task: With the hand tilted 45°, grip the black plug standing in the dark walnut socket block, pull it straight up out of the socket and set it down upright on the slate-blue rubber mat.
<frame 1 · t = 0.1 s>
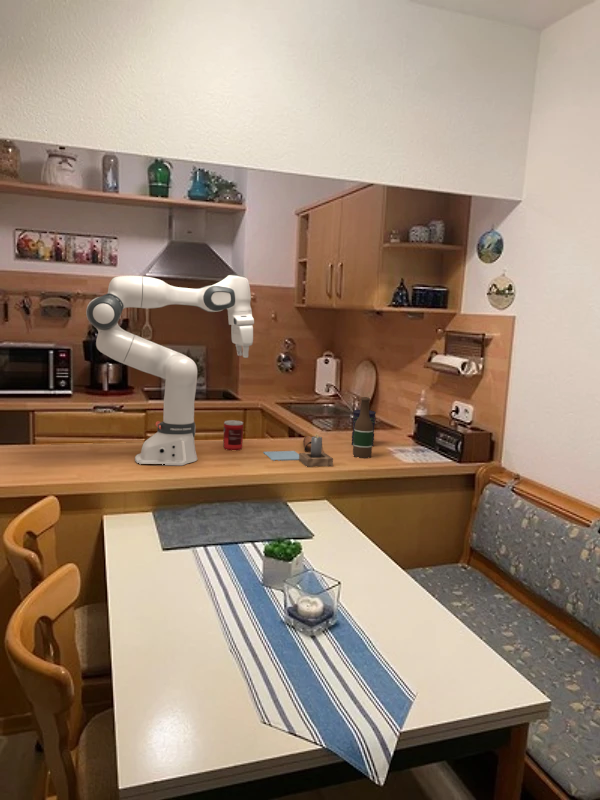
hand: (242, 356, 229), 39 cm above the table, tool pointing down, fingers open, 8 cm apart
plug: (316, 449, 231), in the socket
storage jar: (362, 445, 269), on the table
mat: (283, 456, 240), on the table
socket: (315, 463, 231), on the table
beer bottle: (361, 456, 247), on the table
sunglasses case: (313, 449, 258), on the table
canned food: (232, 449, 250), on the table
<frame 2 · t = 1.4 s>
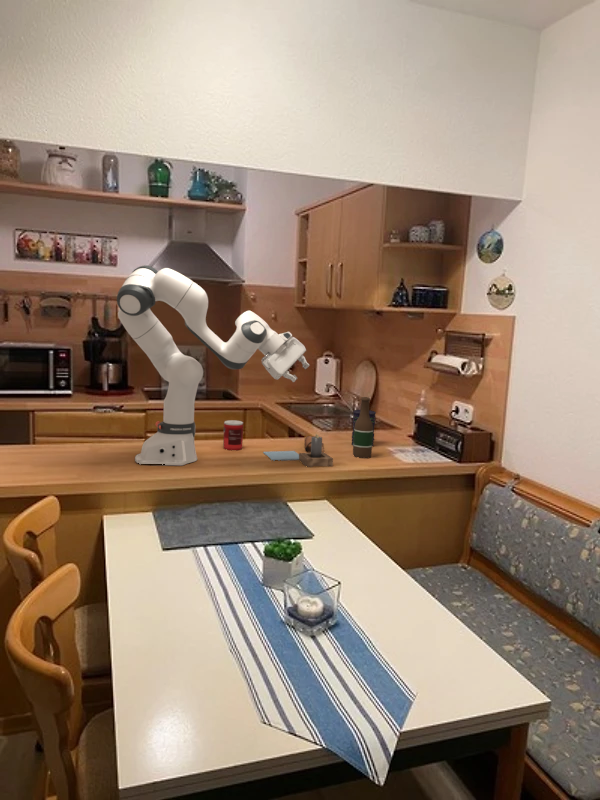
hand: (301, 373, 220), 34 cm above the table, tool tilted 50°, fingers open, 8 cm apart
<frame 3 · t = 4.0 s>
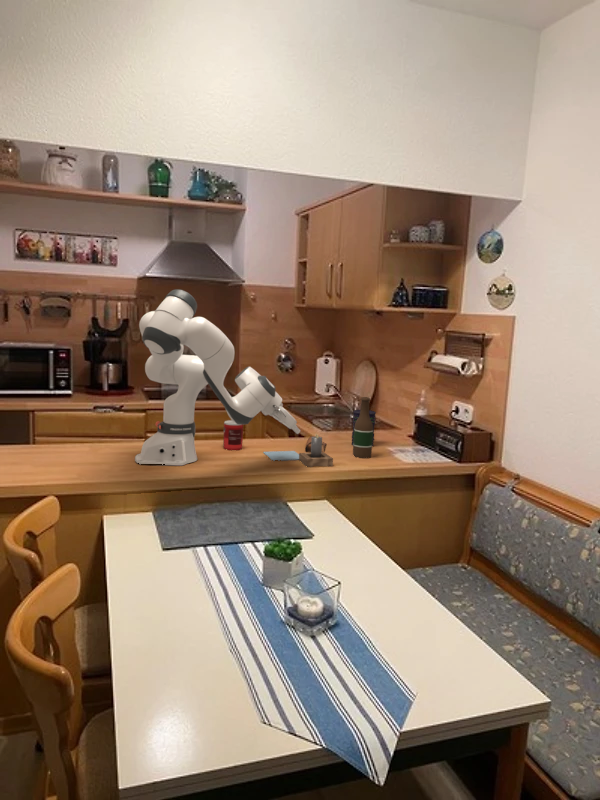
hand: (294, 429, 226), 13 cm above the table, tool tilted 45°, fingers open, 8 cm apart
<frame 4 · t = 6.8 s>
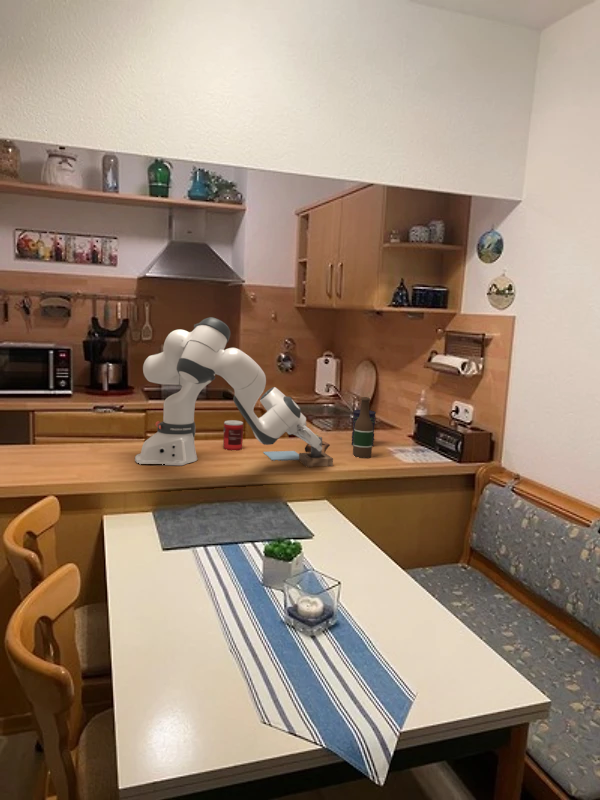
hand: (317, 448, 231), 6 cm above the table, tool tilted 45°, fingers closed on plug, 4 cm apart
plug: (316, 449, 231), in the socket, touching gripper
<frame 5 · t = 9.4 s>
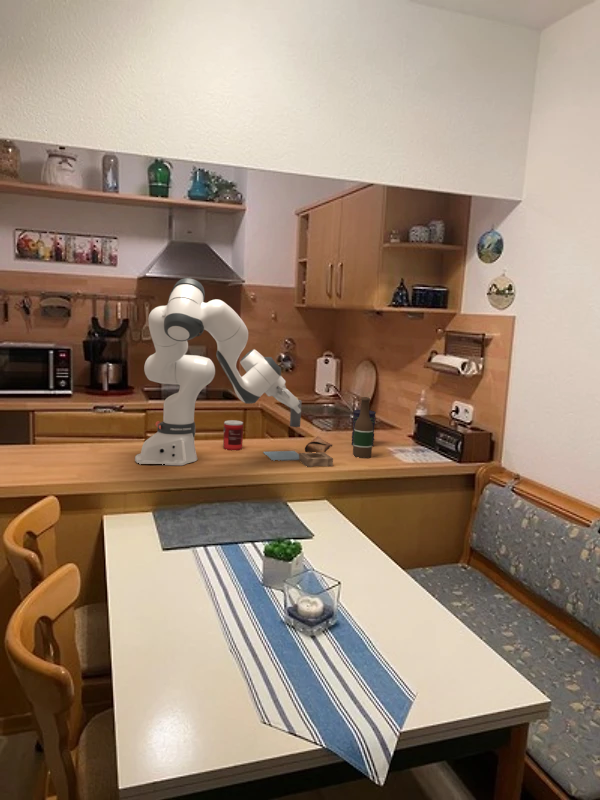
hand: (297, 410, 235), 19 cm above the table, tool tilted 45°, fingers closed on plug, 4 cm apart
plug: (295, 411, 235), point 18 cm above the table, touching gripper
when the fingers open (8 cm above the table, at t = 12.2 s): plug drops 1 cm, resting on mat.
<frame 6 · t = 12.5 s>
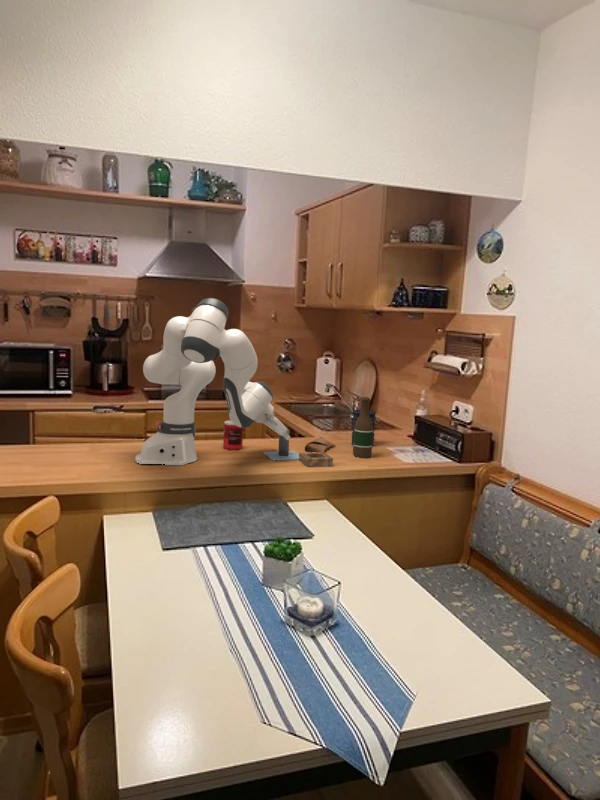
hand: (285, 436, 240), 8 cm above the table, tool tilted 45°, fingers open, 6 cm apart
plug: (283, 440, 240), on the mat
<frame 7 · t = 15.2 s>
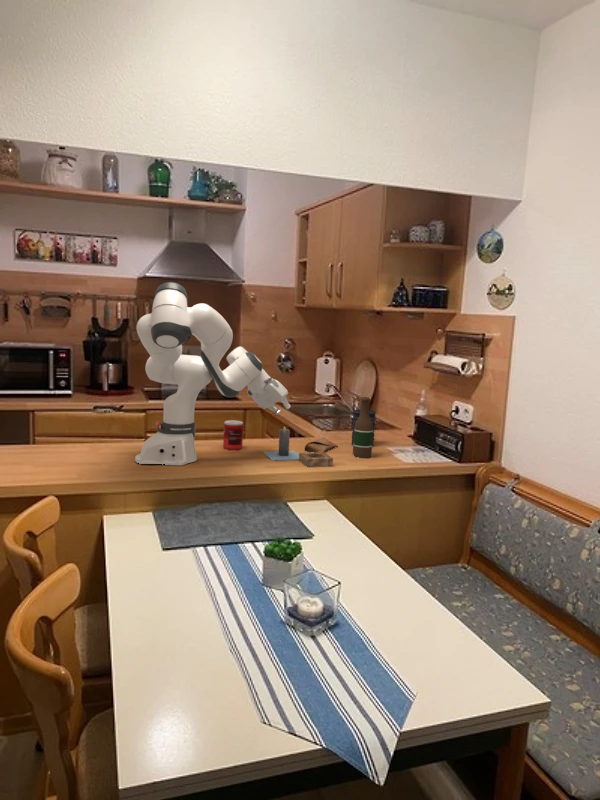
hand: (283, 410, 234), 19 cm above the table, tool tilted 45°, fingers open, 8 cm apart
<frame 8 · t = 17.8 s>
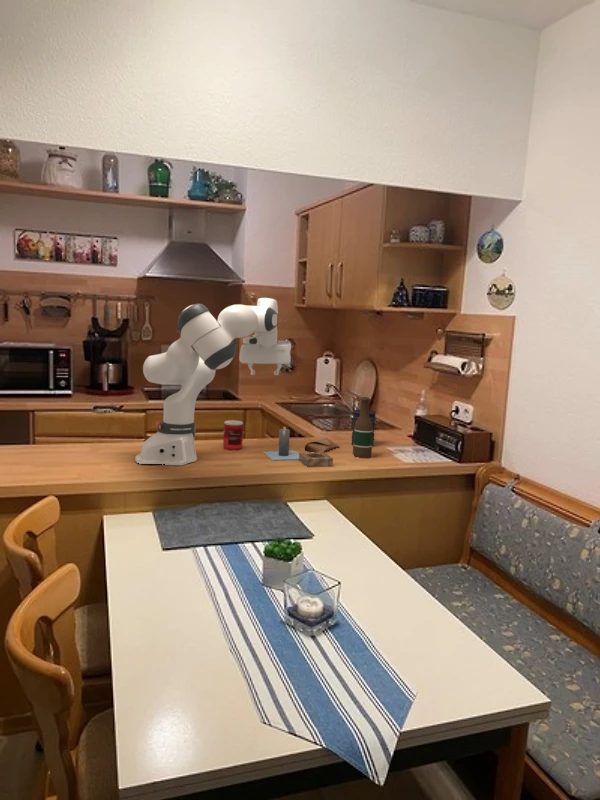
hand: (264, 375, 241), 31 cm above the table, tool pointing down, fingers open, 8 cm apart
at the end: plug inside the target area on the mat (0.1 cm from its centre), point 6.1 cm above the mat's base; plug tilted 0°; the gripper is holding nothing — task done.
